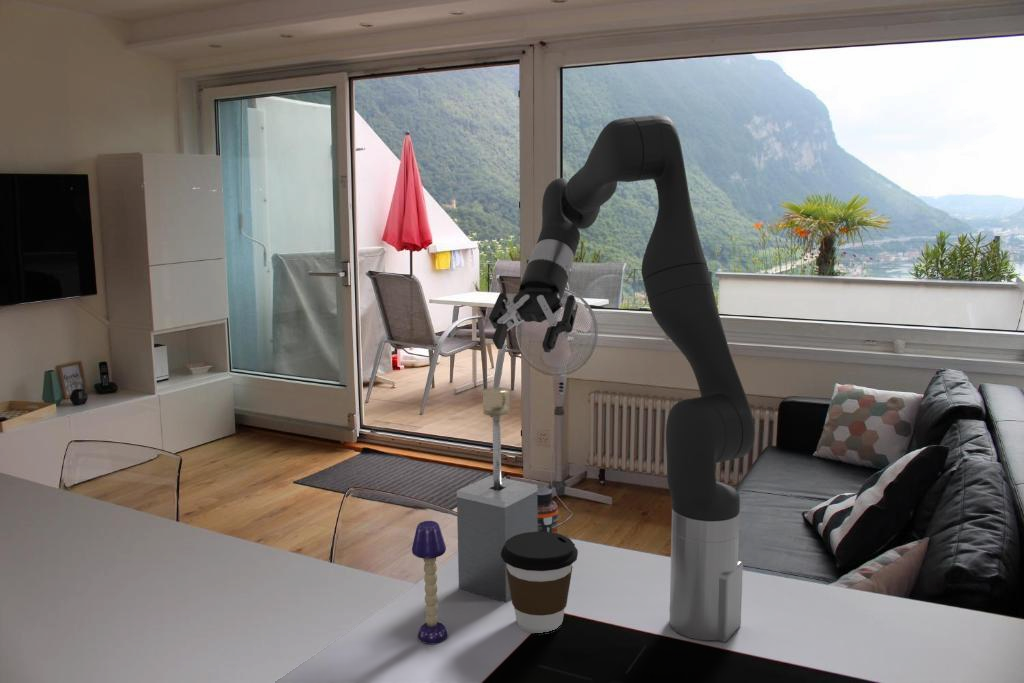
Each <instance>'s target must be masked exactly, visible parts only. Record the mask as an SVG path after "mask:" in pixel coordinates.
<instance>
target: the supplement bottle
mask: <svg viewBox="0 0 1024 683" xmlns="http://www.w3.org/2000/svg"><path fill="white" fill-rule="evenodd" d="M537 509H538V532H551V533H556V534H559V530H558V529H559V521H558V520H559V513H558V512H559V507H558V504H557V503H556V502H555V501H554V500H553V490H552V489H550V488H549V487H537Z"/></svg>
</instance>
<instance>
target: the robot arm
mask: <svg viewBox="0 0 1024 683" xmlns="http://www.w3.org/2000/svg"><path fill="white" fill-rule="evenodd" d="M597 136H598V137H597V138H596V141H595V143H594V144H593V146H592V148H591V149H590V152H589V155H588V156H587V160H586V161H585V162H584V165H583V166H582V167H580V168H579V170H577V171H576V173H575V174H573V175H572V177H571V178H570V179H566V178H565V177H564V178H563V177H559V178H556V179H553V180H552V181H551V182H550V183H549V184H548V185H547V187H546V188H545V191H544V194H543V197H542V204H541V206H542V208H541V213H542V214H541V215H542V216H541V218H542V219H541V220H542V221H541V230H540V233H539V235H538V239H537V241H536V244H535V246H534V248H533V250H532V252H531V254H530V256H529V259H528V261H527V264H526V267H525V270H524V273H523V275H522V279H521V282H520V284H519V289H518V292H517V294H515V295H514V296H508V295H507V294H506V293H505V292H501V293H499V294H498V296H497V299H496V301H495V303H494V305H493V307H492V310H491V312H490V314H489V316H488V320H489V322H490V324H491V325H492V327H493V329H495V331H494V334H493V336H492V342H493V344H494V346H495V348H496V349H497V350H502V349H503V348H504V346H505V342H506V339H507V336H508V335H509V332H508V331H509V330H511V329H513V327H517V326H519V325H520V324H522V323H523V322H525V323H530V322H531V323H532V322H536V323H543V322H544V321H547V324H548V327H547V329H546V332H545V335H544V338H543V341H542V349H543V352H545V353H550V352H551V351H552V350H554V349H555V347H556V344H557V341H558V337H559V335H561V333H564V332H565V333H568V334H569V333H571V332H572V331H573V329H574V324H575V321H576V316H577V312H578V302H577V300H576V298H575V296H574V294H573V295H572V294H570V295H568V296H567V297H566V298H563V297H564V294H565V291H566V289H567V285H568V282H569V279H570V277H571V274H572V269H573V264H574V259H575V256H576V253H577V249H578V246H579V243H580V240H581V233H580V231H579V230H586V229H588V228H590V227H591V226H593V224H594V223H595V221H596V220H597V218H598V216H599V213H600V210H601V206H603V205H604V204H605V203H607V202H608V201H609V200H610V199H611V198H612V197H613V195H614V194H615V192H616V190H617V187H618V183H619V182H622V183H623V182H625V183H632V182H639V181H647V180H653V181H654V183H655V186H656V187H655V188H656V191H657V197H658V199H657V200H658V202H657V204H658V209H657V216H656V219H655V223H654V226H653V230H652V232H651V234H650V237H649V239H648V242H647V245H646V248H645V252H644V254H643V258H642V262H641V270H640V271H641V277H642V281H643V285H644V289H645V294H646V298H647V301H648V306H649V308H650V312H651V314H652V316H653V318H654V320H655V321H656V324H658V326H659V327H660V328H661V330H662V331H663V332H664V334H666V335H667V337H668V338H669V339H670V340H671V342H673V344H674V345H675V346H676V347H677V349H678V350H679V351H680V352H681V353H682V355H683V356H684V357H685V359H686V360H687V362H688V363H689V365H690V367H691V369H692V372H693V374H694V376H695V379H696V382H697V386H698V389H699V394H700V397H698V396H697V397H693V398H687V399H683V400H680V401H677V402H676V403H675V404H674V405H673V406H672V407H671V408H670V411H669V413H668V415H667V419H666V426H665V452H666V479H667V480H666V481H667V486H668V490H669V493H670V497H671V531H670V532H671V533H670V534H671V535H670V537H671V539H670V540H671V541H670V575H669V576H670V577H669V578H670V579H669V580H670V582H669V583H670V584H669V585H670V586H669V587H670V588H669V591H670V592H669V625H670V627H671V628H672V629H673V630H674V631H675V632H677V633H678V634H680V635H683V636H684V637H687V638H691V639H693V640H694V639H695V640H698V641H699V640H700V641H720V642H724V643H726V642H728V640H729V639H730V638H731V637H732V635H733V634H734V633H735V632H736V631H737V630H738V628H740V626H741V625H742V600H743V599H742V596H743V574H744V573H743V567H744V563H743V561H741V560H739V537H740V536H739V534H740V513H741V512H740V509H741V508H740V507H741V499H740V494H739V492H738V491H737V490H736V489H735V487H733V486H730V485H728V484H726V483H723V482H720V481H717V477H716V464H717V463H723V462H727V461H732V460H736V459H741V458H742V457H743V458H744V457H745V456H746V455H747V454H748V453H750V452H751V450H752V448H753V446H754V442H755V438H756V429H755V421H754V417H753V413H752V409H751V406H750V403H749V401H748V398H747V397H748V396H747V394H746V391H745V389H744V387H743V384H742V381H741V378H740V376H739V373H738V370H737V368H736V365H735V362H734V360H733V357H732V354H731V350H730V348H729V345H728V341H727V338H726V333H725V331H724V327H723V324H722V320H721V317H720V313H719V309H718V305H717V301H716V297H715V292H714V287H713V283H712V279H711V274H710V271H709V268H708V264H707V260H706V257H705V254H704V250H703V247H702V244H701V240H700V235H699V231H698V227H697V223H696V219H695V216H694V211H693V208H692V203H691V197H690V196H691V195H690V190H689V185H688V180H687V172H686V168H685V167H686V165H685V161H684V154H683V149H682V144H681V140H680V137H679V133H678V130H677V128H676V126H675V123H674V122H673V121H672V119H670V117H669V116H667V115H663V114H656V115H655V114H653V115H651V114H650V115H641V116H631V117H624V118H618V119H615V120H614V119H613V120H612V121H610V122H608V123H607V124H606V125H605V126H604V128H602V130H601V131H600V133H599V135H597ZM561 308H562V309H563V314H562V316H561V320H559V321H557V318H556V317H555V315H554V314H555V313H557V312H558V311H560V309H561ZM517 313H518V315H517V316H516V314H517Z"/></svg>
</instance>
